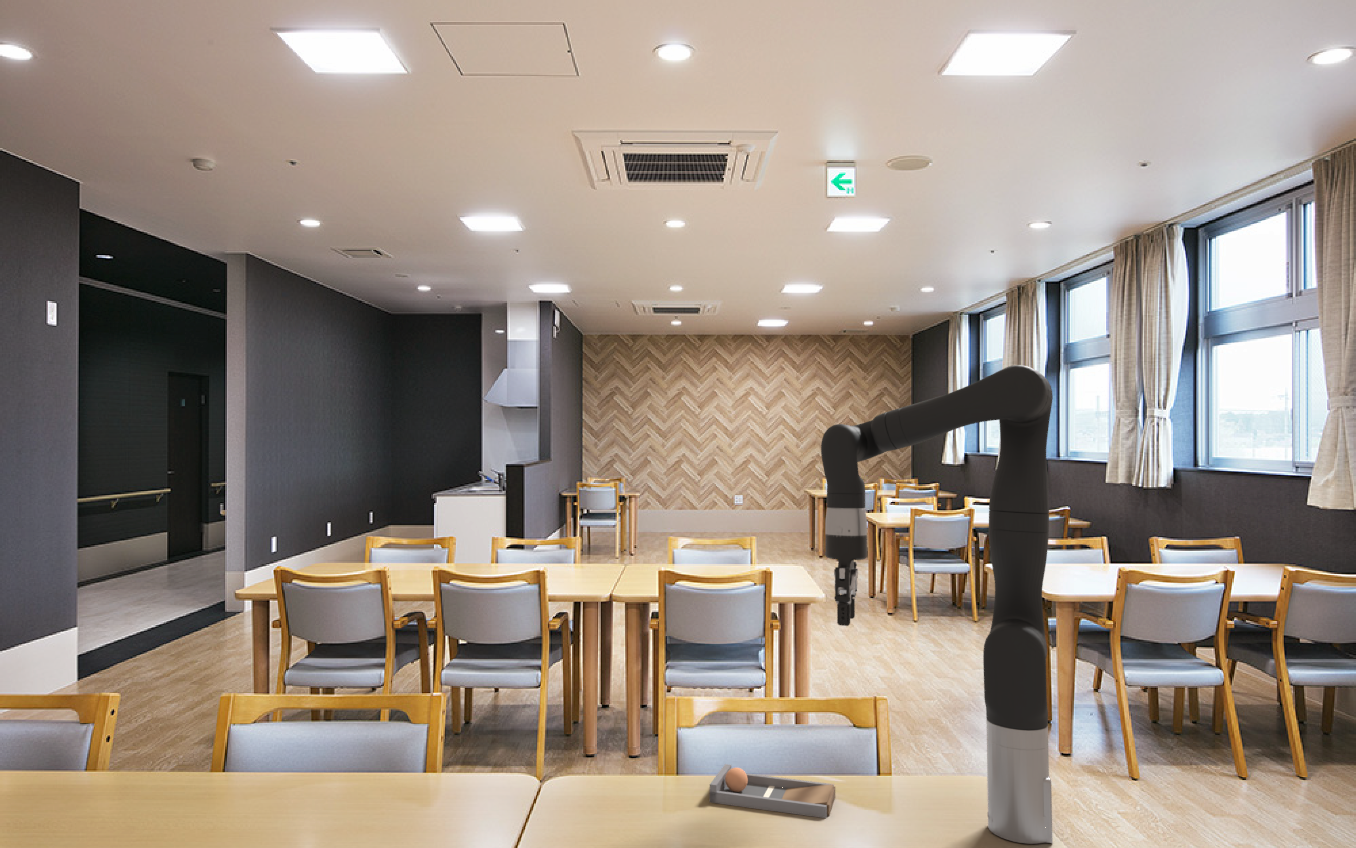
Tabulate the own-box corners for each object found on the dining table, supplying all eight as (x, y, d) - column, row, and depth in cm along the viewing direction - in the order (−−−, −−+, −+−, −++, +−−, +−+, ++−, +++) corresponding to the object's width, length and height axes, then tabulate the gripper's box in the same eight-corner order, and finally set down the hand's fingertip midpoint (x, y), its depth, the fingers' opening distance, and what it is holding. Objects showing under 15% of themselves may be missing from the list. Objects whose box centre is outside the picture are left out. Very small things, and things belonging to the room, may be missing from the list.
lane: (833, 794, 143) (833, 777, 144) (826, 818, 133) (826, 799, 133) (724, 780, 149) (725, 764, 150) (709, 802, 139) (709, 784, 139)
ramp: (835, 801, 142) (835, 784, 142) (829, 820, 134) (829, 802, 134) (786, 795, 145) (786, 778, 145) (778, 813, 137) (778, 795, 137)
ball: (751, 767, 145) (729, 762, 146) (746, 775, 141) (724, 769, 142) (748, 789, 145) (726, 784, 146) (743, 798, 141) (721, 792, 142)
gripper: (863, 535, 141) (864, 629, 140) (869, 531, 154) (870, 617, 153) (820, 534, 143) (820, 626, 142) (830, 530, 157) (830, 614, 155)
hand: (846, 621), depth 147 cm, fingers open, 8 cm apart
